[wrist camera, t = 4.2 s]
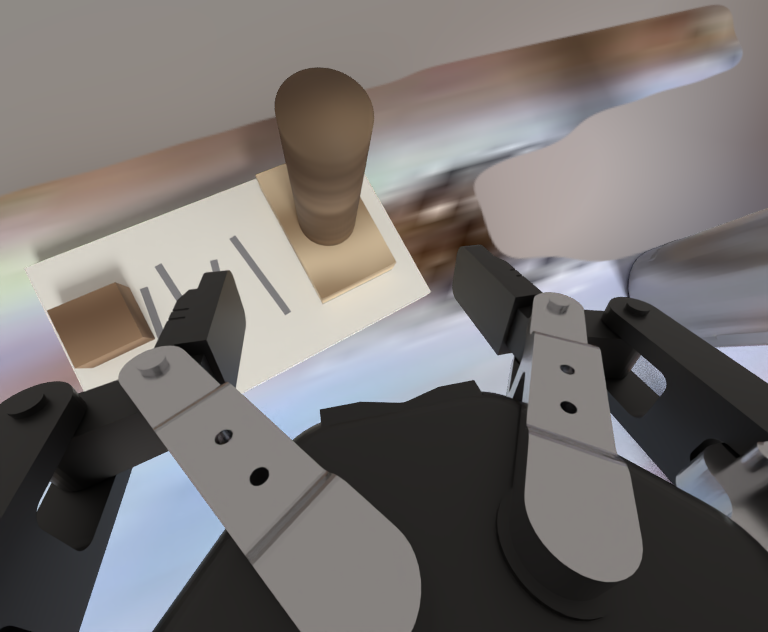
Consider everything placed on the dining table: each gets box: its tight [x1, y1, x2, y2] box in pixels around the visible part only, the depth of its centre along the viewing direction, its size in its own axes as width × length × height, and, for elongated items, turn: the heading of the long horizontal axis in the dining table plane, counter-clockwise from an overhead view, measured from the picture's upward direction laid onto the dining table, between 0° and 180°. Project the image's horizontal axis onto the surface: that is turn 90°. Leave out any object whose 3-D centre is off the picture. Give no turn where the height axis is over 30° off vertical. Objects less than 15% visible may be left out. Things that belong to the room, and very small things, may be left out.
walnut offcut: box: [47, 282, 155, 368], centre depth 20 cm, size 4×4×2 cm
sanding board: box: [24, 173, 431, 394], centre depth 24 cm, size 14×24×2 cm, turn 119°
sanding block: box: [256, 68, 396, 304], centre depth 19 cm, size 10×6×12 cm, turn 29°
